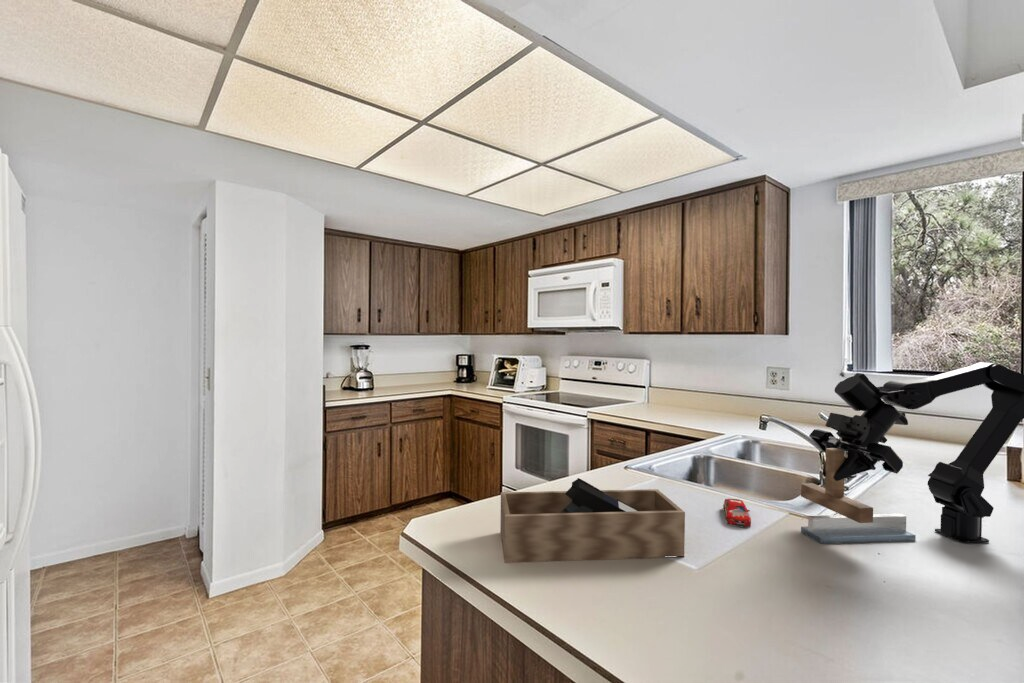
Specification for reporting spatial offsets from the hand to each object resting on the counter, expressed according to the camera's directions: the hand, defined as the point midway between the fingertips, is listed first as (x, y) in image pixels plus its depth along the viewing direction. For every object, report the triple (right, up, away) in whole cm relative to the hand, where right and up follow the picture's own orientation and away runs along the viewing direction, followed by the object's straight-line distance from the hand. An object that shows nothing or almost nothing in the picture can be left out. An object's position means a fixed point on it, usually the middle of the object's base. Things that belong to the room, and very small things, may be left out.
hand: (829, 477), depth 104 cm
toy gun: (-50, -13, -2) cm, 52 cm away
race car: (-15, -14, +12) cm, 23 cm away
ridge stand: (+7, -13, +2) cm, 15 cm away
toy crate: (-54, -13, -4) cm, 55 cm away
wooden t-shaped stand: (+1, -7, 0) cm, 7 cm away
